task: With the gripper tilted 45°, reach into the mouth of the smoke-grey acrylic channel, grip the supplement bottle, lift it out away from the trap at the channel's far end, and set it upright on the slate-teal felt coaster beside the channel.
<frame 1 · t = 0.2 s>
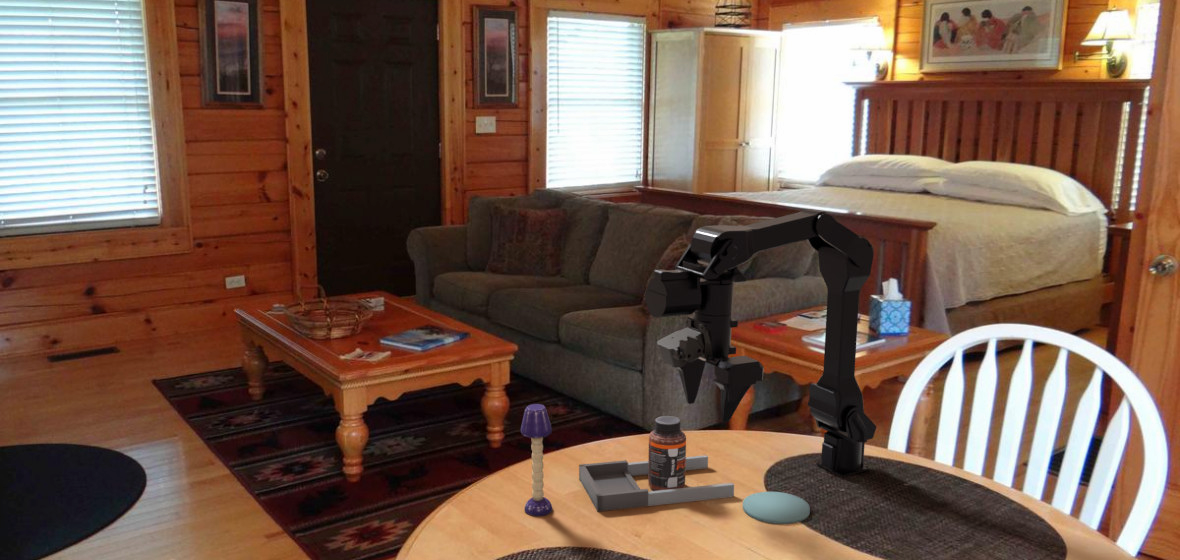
hand: (707, 412, 144), 15 cm above the table, tool pointing down, fingers open, 9 cm apart
toy lamp: (537, 512, 144), on the table
trap channel: (666, 486, 153), on the table
supplement bottle: (666, 487, 153), on the table
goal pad: (775, 509, 145), on the table
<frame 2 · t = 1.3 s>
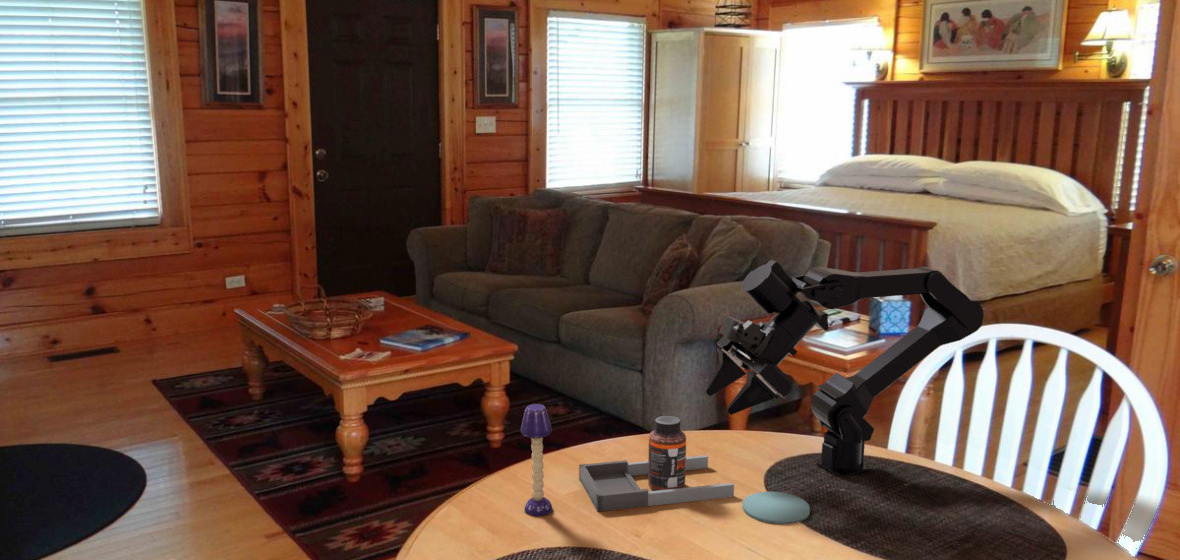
hand: (717, 403, 152), 13 cm above the table, tool tilted 45°, fingers open, 9 cm apart
nothing on the table moved.
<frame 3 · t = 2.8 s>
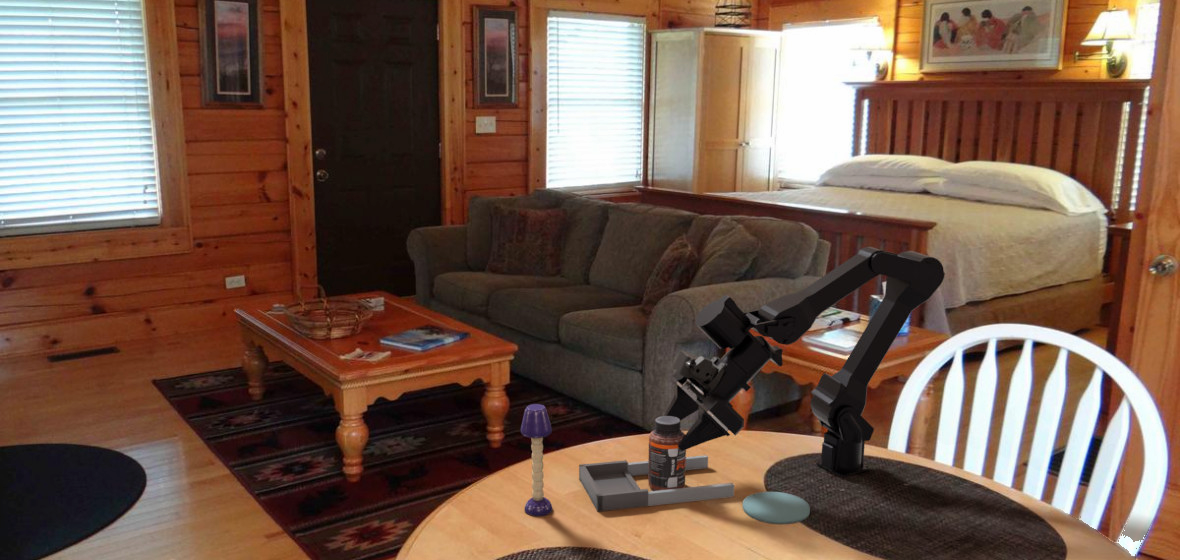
hand: (670, 437, 151), 8 cm above the table, tool tilted 45°, fingers open, 9 cm apart
nothing on the table moved.
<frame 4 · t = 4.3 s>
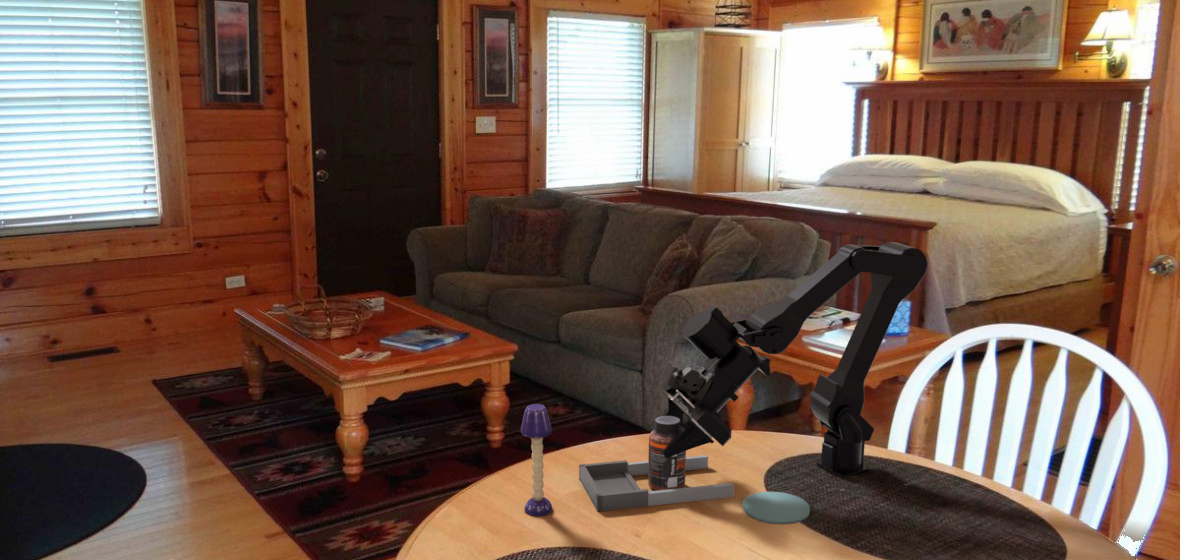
hand: (658, 448, 151), 7 cm above the table, tool tilted 45°, fingers closed on supplement bottle, 6 cm apart
supplement bottle: (666, 487, 153), on the table, touching gripper
everything else where it was.
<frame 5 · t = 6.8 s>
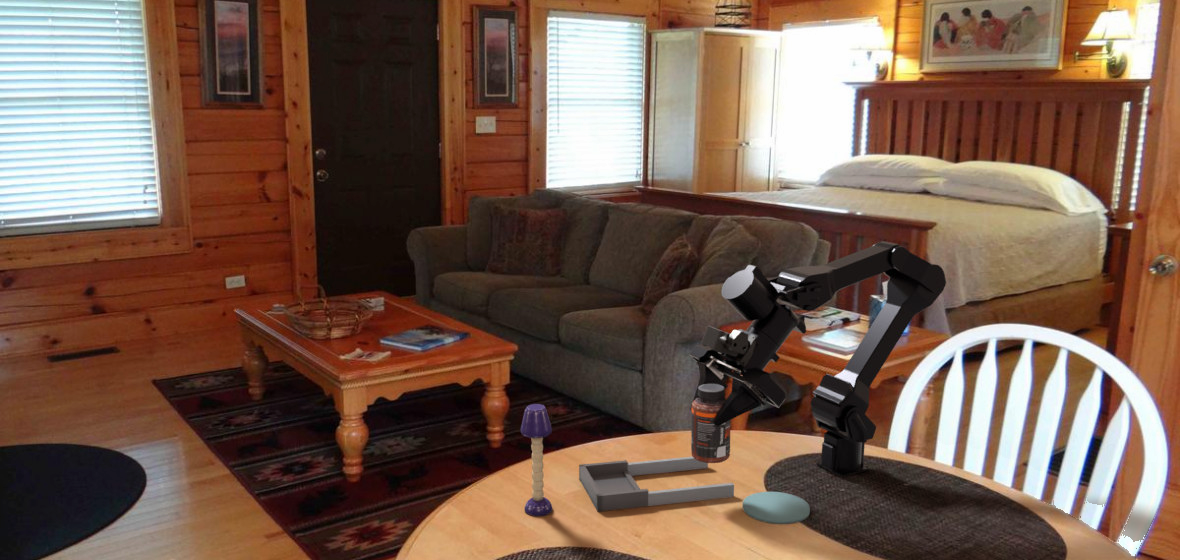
hand: (703, 418, 145), 14 cm above the table, tool tilted 45°, fingers closed on supplement bottle, 6 cm apart
supplement bottle: (710, 458, 147), point 7 cm above the table, touching gripper
everything else where it was.
when the fingers open (8 cm above the table, at t = 9.6 s): supplement bottle drops 1 cm, resting on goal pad.
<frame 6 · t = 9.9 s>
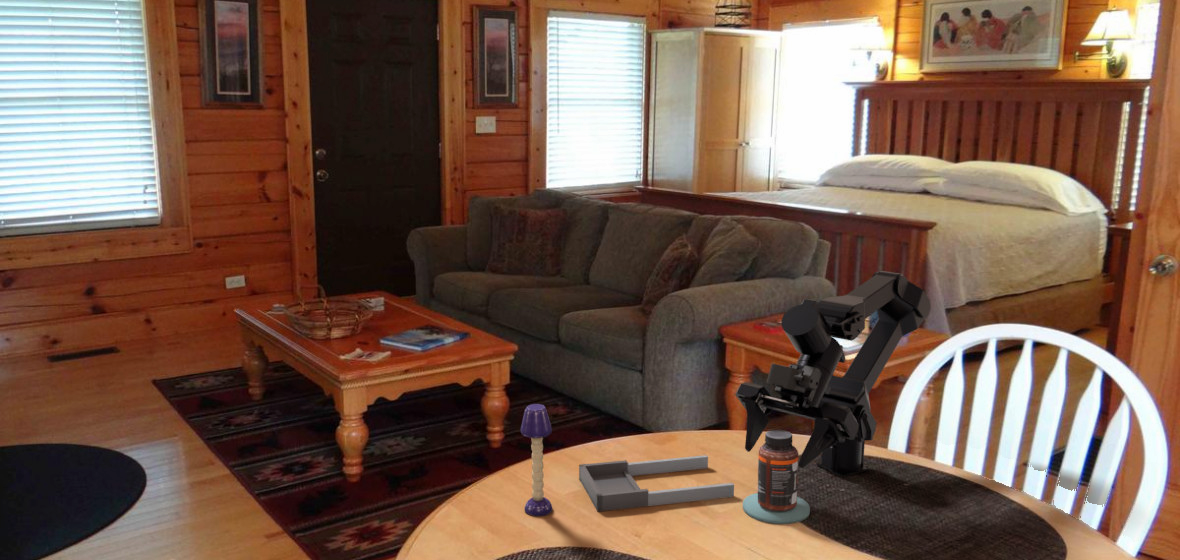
hand: (773, 458, 142), 9 cm above the table, tool tilted 45°, fingers open, 9 cm apart
supplement bottle: (777, 506, 145), resting on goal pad
everything else where it was.
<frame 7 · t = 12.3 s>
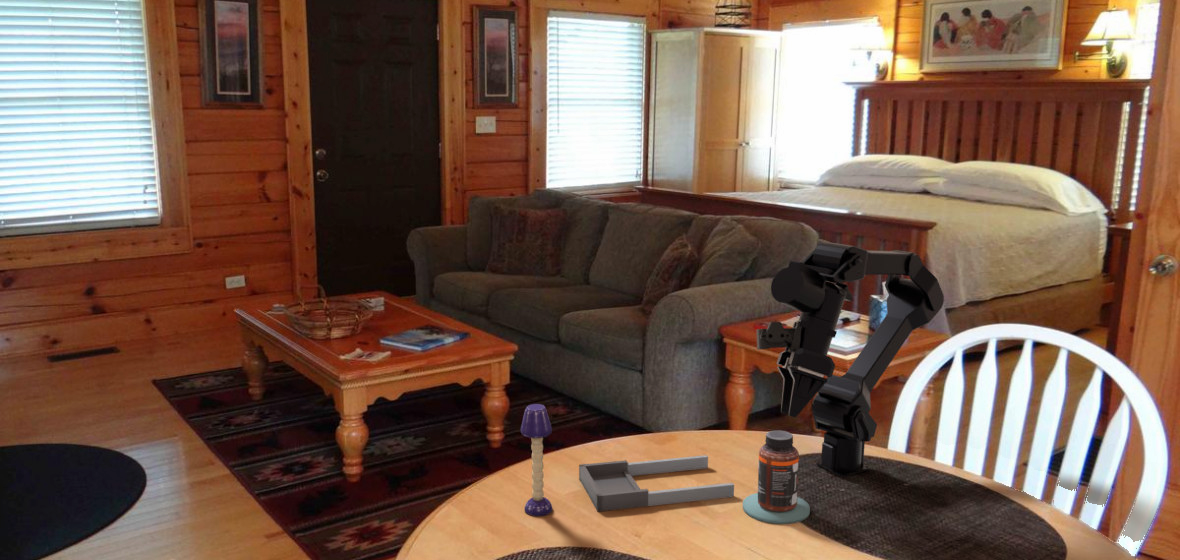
hand: (787, 414, 148), 13 cm above the table, tool tilted 25°, fingers open, 9 cm apart
nothing on the table moved.
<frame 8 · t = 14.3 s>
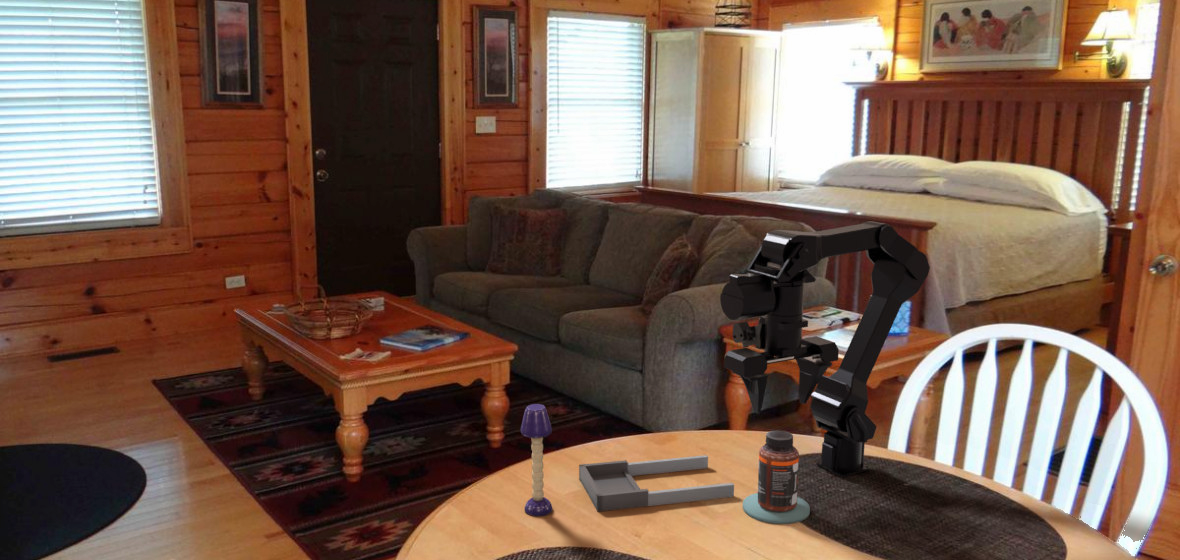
hand: (780, 407, 151), 13 cm above the table, tool pointing down, fingers open, 9 cm apart
nothing on the table moved.
at the end: supplement bottle 0.2 cm from the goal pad (horizontally); supplement bottle tilted 0°; the gripper is holding nothing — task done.
